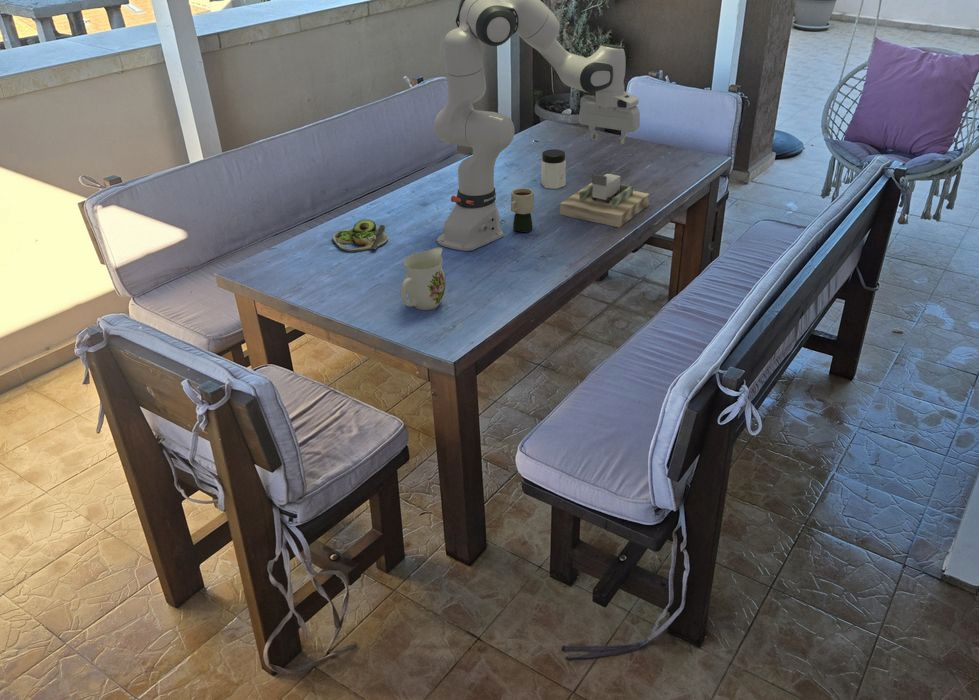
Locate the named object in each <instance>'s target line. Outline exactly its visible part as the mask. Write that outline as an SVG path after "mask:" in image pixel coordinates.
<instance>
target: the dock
mask: <svg viewBox="0 0 979 700" xmlns="http://www.w3.org/2000/svg"><path fill="white" fill-rule="evenodd" d="M592 194H593V184H592V182H591V183H589V184H588V185H586V186H585V187H583V188H581V189H580V190H578V191H576V192H575V193H574V194H572V195H571V196H569V197H568V198H566V199H565V200H563V201H562V202H560V203H559V215H560V216H565V217H570V218H573V219H579V220H584V221H587V222H593V223H598V224H602V225H606V226H612V227H616V228H621V227H622V226H623V225H625V224H626V223H627V222H629V221H630V220H631V219H633V218H634V217H635V216H636V215H638V214H639V213H640V212H642V211H643V210H644V209H646V208H647V207H648V206H649V205H650V193H647V192H642V191H637V190H634V186H633V185H627V184H623V183H620V194H618V195H617V196H615V194H614V195H612V196H611V197H610V198H611V201H610V203H606V202H605V200H604V199H599V198H597V199H596V200H592Z"/></svg>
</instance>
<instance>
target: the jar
mask: <svg viewBox="0 0 979 700" xmlns="http://www.w3.org/2000/svg"><path fill="white" fill-rule="evenodd" d="M541 154H542V155H541V159H540V160H541V161H540V163H541V167H540V168H541V169H540V170H541V174H540V175H541V178H540V179H541V180H540V181H541V182H540V183H541V185H542V186H543V187H544V188H545V189H552V190H557V189H561V188H562V187H566V183H567V182H566V177H567V176H566V172H567V169H566V168H567V161H566V152H565V151H564V150H562V149H558V148H557V149H554V148H553V149H552V148H551V149H546V150H544V151H542V153H541Z"/></svg>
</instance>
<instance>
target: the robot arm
mask: <svg viewBox="0 0 979 700" xmlns="http://www.w3.org/2000/svg"><path fill="white" fill-rule="evenodd" d="M457 11H458V12H457V15H456V18H455V23H456V28H454V29H451V30H450V31H448V32H447V33H446V35H445V36H444V39H443V61H444V62H443V63H444V69H445V75H446V84H447V91H448V94H447V95H448V96H447V102H446V104H445V105H444V107H443V108H442V109H441V110H440V111H439V112H438V113H437V114H436V116H435V119H434V122H433V130H434V133H435V136H436V138H437V139H438V140H439V141H440V142H441V141H442V142H444V143H447V144H449V145H452V146H461V147H468V148H471V149H472V155H471V156H469V157H466V158H465V159H463V160H462V161H461V162H460V163H459V165H458V168H457V177H458V178H457V179H458V189H457V193H456V195H451V197H450V201H451V203H455V206H453V208H452V210H451V212H450V214H449V215H448V217H447V218H446V220H445V221H444V223H443V233H441V234H440V235H439V236H438V237H437V239H436V243H437V244H438V245H440V246H441V247H445V248H448V249H452V250H456V251H466V252H467V251H474V250H476V249H479V248H481V247H483V246H485V245H487V244H490V243H491V242H494V241H497V240H499V239H501V238H502V237H504V232H503V231H502V229H501V223H500V215H499V210H498V208H497V204H496V199H497V198H496V196H497V192H496V187H495V184H494V183H495V179H494V177H495V164H496V162H497V158H498V157H499V155H500V154H501V153H502V151H504V150H505V149H507V148H508V147H509V146H510V145H511V144H512V142H513V141H514V136H515V125H514V122H513V121H512V118H511V117H510V116H507V115H505V114H501V113H499V112H496V111H489V110H488V111H487V110H479V109H478V110H477V109H474V105H473V104H475V103H477V102H479V100H481V99H482V98H483V97H484V96H485V94H486V91H487V81H486V75H485V74H486V73H485V68H484V66H485V65H484V60H483V56H482V53H483V47H484V44H485V45H487V46H492V47H499V46H502V45H503V44H505V43H506V42H507V41H509V39H510V38H511V37H512V36H513V35H514V34H516V35H518V36H519V38H521V39H522V40H523V41H524V42H525V43H526V44H528V45H529V46H530V47H532V48H533V49H535V51H537V52H538V54H540V55H541V57H542V58H543V59H544V60H545V61H546V62H547V63H548V65H550V66H551V67H550V68H551V69H552V71H553V72H554V76H555V78H556V80H557V82H558V83H559V84H560V85H562V86H564V87H568V88H572V89H576V90H577V91H582V92H584V93H590V94H591V93H595V95H590V94H589V95H588V94H585V95H583V96H582V97H580V100H579V106H580V108H579V113H578V122H579V124H580V125H584V126H588V131H589V132H590V135H591V140H593V141H594V140H595V141H596V140H599V133H597V132H596V128H604V129H610V130H617V131H621V132H620V133H621V134H622V135H621V136H620V137H618V138H617V144H619V145H624V143H625V138H626V137H627V135H628V134H629V132H630V133H633V132H636V131H637V130H638V129H639V128H640V124H641V116H640V108H639V107H638V106H637V105H639V101H640V100H639V98H638V97H636V96H634V95H633V94H631V93H629V92H627V91H625V83H624V80H625V76H626V53H625V50H624V48H623V47H621V46H619V45H615V44H612V43H611V44H610V43H603V44H601V45H600V46H598V49H597V50H596V51H595V52H593V54H591V55H590V56H588V57H585V56H582V55H579V54H577V53H574V52H570V51H568V50H566V49H565V48H564V46H563V45H562V44H561V43H560V42H559V41H558V40H557V38H558V36H559V34H560V30H561V24H560V22H559V20H558V18H557V16H556V15H555V14H554V13H553V11H552V9H550V8H549V7H548V6H547V5H546V4H545V3H544V2H543V1H542V0H460V1H459V5H458V10H457Z"/></svg>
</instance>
